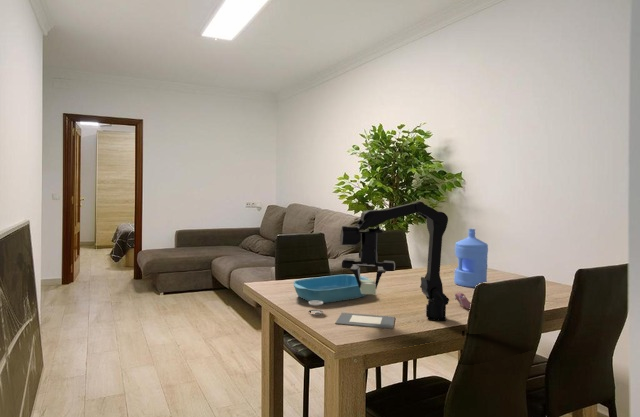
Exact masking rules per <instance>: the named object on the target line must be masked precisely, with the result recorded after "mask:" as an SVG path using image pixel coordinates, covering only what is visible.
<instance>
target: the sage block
mask: <svg viewBox="0 0 640 417" xmlns="http://www.w3.org/2000/svg"><path fill="white" fill-rule="evenodd" d="M375 282H376V280H375V279H369V280H362V279H361V287H360V290H361V294H366V295H376V294H377V288H376V284H375Z"/></svg>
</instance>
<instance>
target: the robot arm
mask: <svg viewBox="0 0 640 417" xmlns="http://www.w3.org/2000/svg"><path fill="white" fill-rule="evenodd" d="M413 214H418V215H420V217H421V218H423V219H425V221H426V227H427V231H428V236H429V237H428V254H427V265H426V266H427V267H426V274H425V276H421V277H420V286H419V287H420V289H421V292H422V293H423V295H425V297H426V300H427V304H426V310H425V313H426V314H425V315H426V316H425V317H426V318H427V321H438V322H440V321H441V322H446V321H447V318H446V317H447V316H446V315H447V314H446V312H447V310H446V309H447V305H448V304H449V302H450V298H449V297H448V296H447V295H446V294H445V293H444V289H443V282H442V279H441V274H440V273H441V263H442V262H441V260H442V259H441V258H442V246H443V236H444V234H445V231H446V230H447V227H448V222H449V216H448V215H447V214H446V213H445V212H443V211H438V210H437V209H434V208H433V207H430V206H429V205H427V204H426V203H424V202H423V201H419V200H418V201H417V200H415V201H413V202H410V203H406V204H403V205H402V204H401V205H397V206H393V207H389V208H385V209H368V210H367V209H366V210H364V211H362V213H361V215H360V219H359V221H358V222H356V224H355V226H347V225H346V226H345V225H343V226H341V231H340V233H339V234H340V235H339V243H340V245H341V246H357V245H358V244H360V249H358V250H359V251H358V258H359V259H360V261H358V260H355V258H350V257H349V258H348V257H346V258H344V259H343V260H341V269H349V271H350V272H352V274H353V275H355V277H356V280H357V283H358V286H359V288H360V287H361V279H360V276H361V267H363V268H377V271H376V276H375V284H376V289H377V288H378V286H379V283H380V280H381V277H382V275H383V274H386V272H395V269H396V262H395V261H394V260H383V261H382V262H379V261H378V257H379V256H378V255H379V254H378V234H383V233H384V231H383V230H382V229H381V228H380V226H379V225H381V224H383V223H385V222H386V221H389V220H393V219H397V218H401V217H404V216H410V215H413Z"/></svg>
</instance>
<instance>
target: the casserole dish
mask: <svg viewBox="0 0 640 417" xmlns="http://www.w3.org/2000/svg"><path fill="white" fill-rule="evenodd" d="M360 279H362V280H370V278H368V277H366V276H362V275H360ZM293 287H294V290H295V292H296V295H297V296H298V297H299V298H301V299H302V298H303V299H302V300H304V299H305V300H304V301H307V302H309V301H313V300H318V301H322V302H323V304H328V303H329V302H330V303H335V302H336V301H337V302H342V300H343V301H348V300H349V299H350V300H355V299H360V298H363V297H365V296H366V295H367V294H361V290H360V288H359V286H358V283H357V280H356V277H355V275H354V274H334V275H326V276H319V277H308V278H302V279H301V278H300V279H296V280H293ZM330 303H329V304H330Z"/></svg>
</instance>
